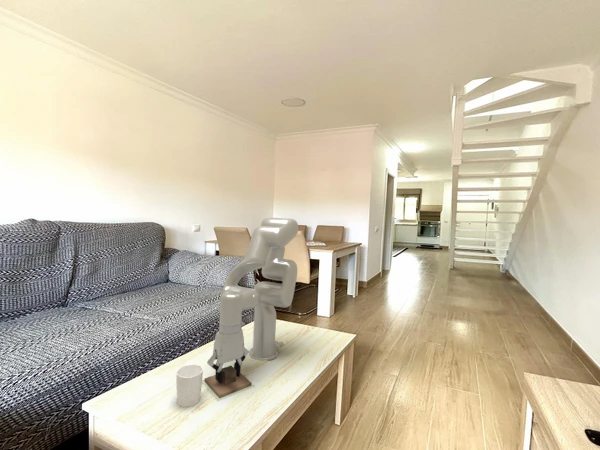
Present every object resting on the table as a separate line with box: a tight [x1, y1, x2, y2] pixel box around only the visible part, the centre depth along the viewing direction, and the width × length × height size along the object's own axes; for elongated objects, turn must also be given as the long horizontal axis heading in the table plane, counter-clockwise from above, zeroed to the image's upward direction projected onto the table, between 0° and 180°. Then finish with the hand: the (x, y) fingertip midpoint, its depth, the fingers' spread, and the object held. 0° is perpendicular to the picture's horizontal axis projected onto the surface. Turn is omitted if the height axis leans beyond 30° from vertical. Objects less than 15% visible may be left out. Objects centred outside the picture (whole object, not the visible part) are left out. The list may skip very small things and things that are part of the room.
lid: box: [203, 365, 253, 398], centre depth 101 cm, size 12×12×5 cm
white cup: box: [175, 364, 204, 408], centre depth 91 cm, size 8×8×10 cm
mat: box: [202, 375, 256, 402], centre depth 101 cm, size 14×14×1 cm
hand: (228, 377), depth 101 cm, fingers open, 6 cm apart
